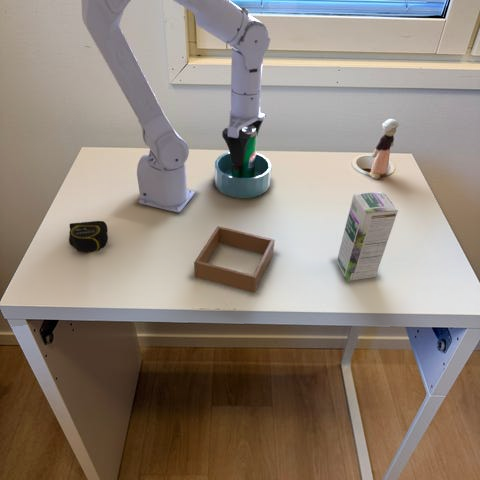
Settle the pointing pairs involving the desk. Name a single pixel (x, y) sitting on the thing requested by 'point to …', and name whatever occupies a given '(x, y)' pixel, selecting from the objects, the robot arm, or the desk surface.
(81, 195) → the desk surface
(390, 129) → the grandmother figurine
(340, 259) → the syrup box
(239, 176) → the soda can
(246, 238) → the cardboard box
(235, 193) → the bowl
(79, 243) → the tape measure
